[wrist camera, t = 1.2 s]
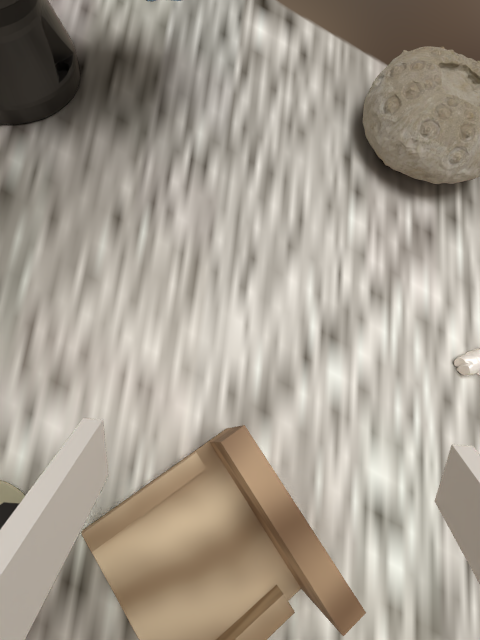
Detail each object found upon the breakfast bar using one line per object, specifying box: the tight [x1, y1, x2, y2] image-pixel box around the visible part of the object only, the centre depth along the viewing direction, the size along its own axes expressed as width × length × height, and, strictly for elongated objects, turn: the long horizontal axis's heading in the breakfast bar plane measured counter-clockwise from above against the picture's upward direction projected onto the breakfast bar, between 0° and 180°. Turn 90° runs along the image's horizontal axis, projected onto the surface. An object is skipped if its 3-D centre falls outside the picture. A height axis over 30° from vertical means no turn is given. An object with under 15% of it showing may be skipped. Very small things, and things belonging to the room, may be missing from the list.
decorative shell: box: [363, 47, 480, 184], centre depth 45 cm, size 18×18×10 cm
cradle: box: [81, 425, 366, 640], centre depth 27 cm, size 14×14×9 cm
